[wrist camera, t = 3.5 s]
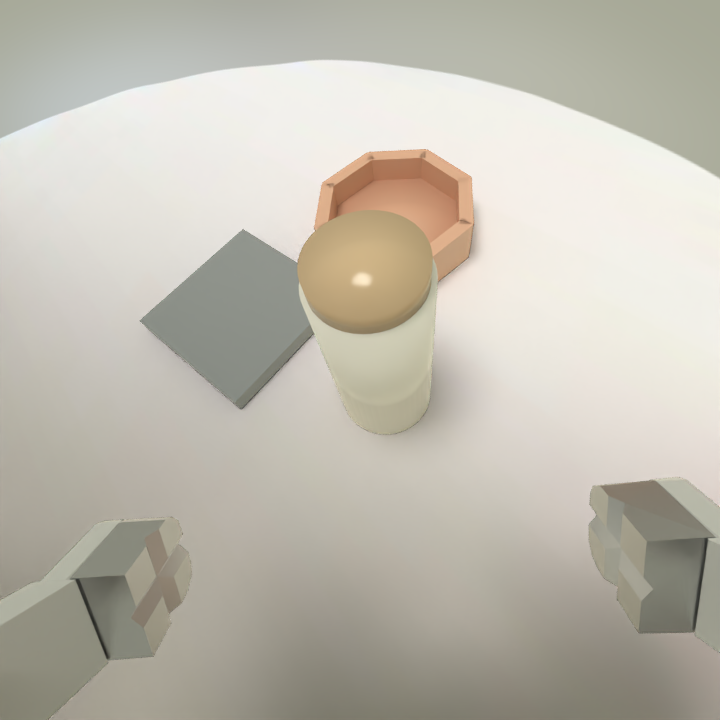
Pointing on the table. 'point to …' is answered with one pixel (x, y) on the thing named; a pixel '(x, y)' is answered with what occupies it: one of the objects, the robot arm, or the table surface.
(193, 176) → the table surface
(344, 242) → the spice jar
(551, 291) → the table surface
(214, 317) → the slate coaster
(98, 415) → the table surface
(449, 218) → the terracotta dish
